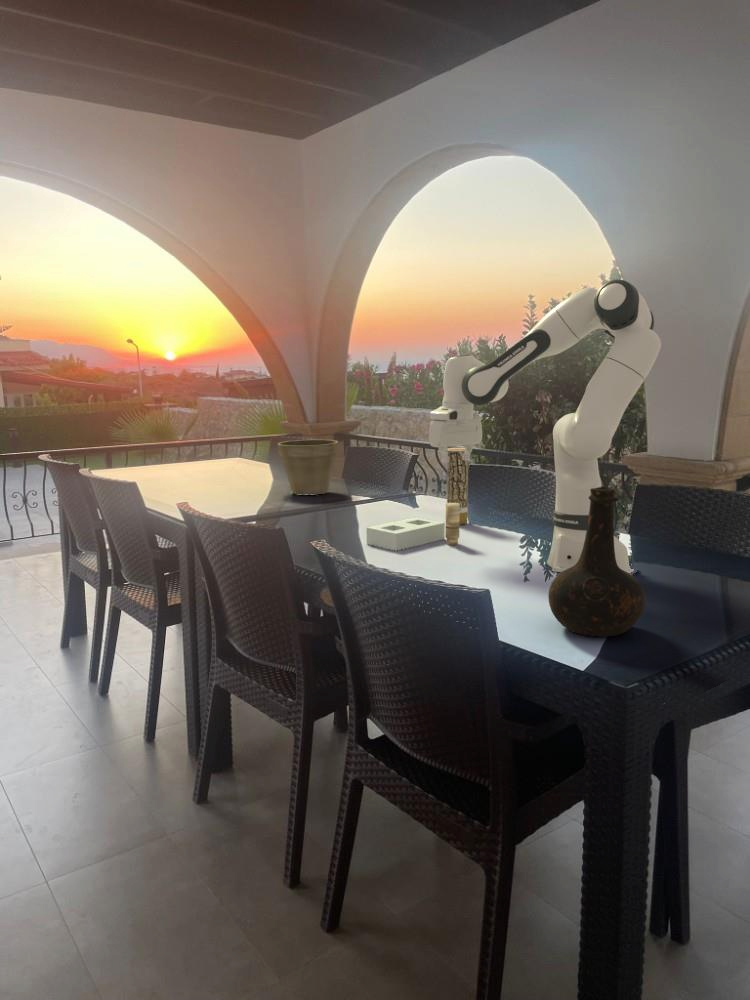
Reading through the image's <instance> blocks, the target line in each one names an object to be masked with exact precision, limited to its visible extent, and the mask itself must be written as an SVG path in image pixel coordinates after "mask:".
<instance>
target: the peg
mask: <svg viewBox="0 0 750 1000" xmlns="http://www.w3.org/2000/svg"><path fill="white" fill-rule="evenodd" d="M459 522H460V504H459V503H447V502H446V503H445V538H446V545H447V546H457V545H458V544H459V539H460V526H461V525H459Z"/></svg>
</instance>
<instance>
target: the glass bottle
mask: <svg viewBox="0 0 750 1000" xmlns="http://www.w3.org/2000/svg"><path fill="white" fill-rule="evenodd" d="M590 491H591V495H590V496H589V500H590V510H589V518H588V525H587V531H586V537H585V541H584V546H583V549H582V552H581V555H580V558H579V560H578V562H577V563H576V564H575V565H574V566H572V567H570V568H568V569H566V570H564V571H562V572H559V573H558V574H557V575H556V576H555V577H554V579H553V580H552V582H551V584H550V586H549V589H548V595H547V596H548V604H549V607H550V611H551V613H552V614H553V616H554V618H555V619H556V621H557V622H558V623H559V624H560V625H561V626H562V627H564V628H565V629H567V630H568V631H571V632H572V633H576V634H579V635H582V634H583V635H584V636H587V635H589V636H588V637H594V636H596V637H597V638H604V637H605V638H607V637H608V636H610V637H616V636H618V635H619V636H620V635H622V634H623V633H625V632H627V631H628V630H630V628H633V626H634V625H635V624H636V623H637V622H638V621H639V619H640V618H641V616H642V614H643V612H644V609H645V606H646V593H645V591H644V590H645V589H643V586H642V585H641V583H640V581H638V579H637V578H636V577H635V576H634V575H631V574H629V573H628V572H626V571H624V570H622V569H620V568H619V567H618V565H617V562H616V558H615V549H614V536H615V534H614V533H615V532H614V529H615V525H614V524H615V523H614V522H615V521H614V517H615V515H614V513H615V512H614V511H615V502H618V501H620V498H619V497H617V496H615V495H616V489H615V488H612V487H608V486H601V487H598V488H591V489H590Z"/></svg>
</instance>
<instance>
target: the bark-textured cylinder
mask: <svg viewBox="0 0 750 1000" xmlns="http://www.w3.org/2000/svg"><path fill="white" fill-rule="evenodd" d="M465 449H466V448H465V447H448V449H447V456H449V462H447V465H446V466H447V469H446V473H447V475H446V477H447V478H446V479H447V480H446V503H459V504H460V522H459V526H462V525H466V524H467V523H468V510H469V509H468V508H469V507H468V503H469V502H468V501H469V460H462V454H464V452H465Z"/></svg>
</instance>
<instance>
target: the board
mask: <svg viewBox="0 0 750 1000" xmlns="http://www.w3.org/2000/svg"><path fill="white" fill-rule="evenodd" d="M445 538H446V522H442V521H438V520H431V519H425V518H420V517H410V518H407V519H402V520H398V521H397V520H396V521H392V522H386V523H381V524H378V525H376V524H375V525H373V526H367V527H366V545H368V544H369V546H372V545H374V547H377V546H378V548H381V547H382V548H381V549H385V548H386V549H385V550H389V549H390V550H391V551H394V550H395V551H394V552H398V551H402V550H406V549H410V548H414V547H417V546H421V545H425V544H430V543H433V542H438V541H443V540H445ZM413 546H414V547H413ZM409 547H410V548H409ZM405 548H406V549H405ZM401 549H402V550H401ZM397 550H398V551H397Z"/></svg>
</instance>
